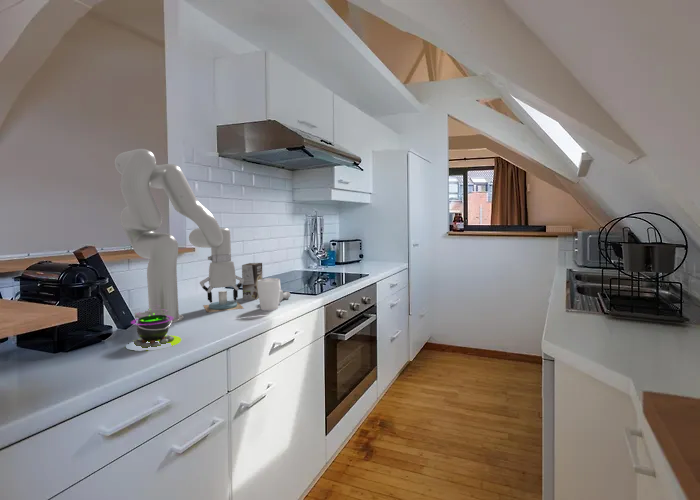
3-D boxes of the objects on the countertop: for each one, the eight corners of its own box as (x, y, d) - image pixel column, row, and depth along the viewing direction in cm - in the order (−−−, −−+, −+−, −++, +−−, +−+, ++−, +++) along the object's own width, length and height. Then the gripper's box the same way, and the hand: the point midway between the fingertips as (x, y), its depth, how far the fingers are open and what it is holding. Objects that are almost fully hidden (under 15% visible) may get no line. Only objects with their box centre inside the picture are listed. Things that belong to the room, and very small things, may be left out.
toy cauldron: (149, 354, 109) (147, 314, 108) (112, 347, 115) (110, 309, 114) (192, 339, 123) (191, 303, 122) (157, 334, 129) (155, 299, 128)
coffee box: (256, 301, 177) (255, 264, 176) (242, 301, 178) (241, 264, 177) (263, 297, 186) (262, 262, 185) (250, 296, 187) (249, 262, 186)
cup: (276, 312, 155) (275, 282, 154) (254, 312, 157) (253, 281, 156) (284, 307, 164) (283, 278, 163) (263, 307, 166) (262, 278, 165)
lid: (210, 311, 157) (210, 295, 156) (207, 305, 167) (206, 290, 166) (239, 307, 162) (239, 292, 161) (234, 302, 171) (233, 288, 171)
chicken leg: (297, 300, 182) (292, 283, 184) (279, 300, 165) (273, 281, 166) (281, 307, 184) (276, 290, 185) (262, 308, 166) (256, 289, 168)
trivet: (207, 313, 155) (207, 312, 155) (203, 306, 167) (203, 305, 167) (244, 309, 161) (244, 308, 161) (237, 303, 174) (237, 301, 173)
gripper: (199, 260, 155) (201, 304, 157) (245, 258, 163) (246, 300, 164) (197, 259, 162) (199, 301, 164) (241, 256, 170) (242, 297, 171)
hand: (223, 300), depth 164 cm, fingers open, 9 cm apart
